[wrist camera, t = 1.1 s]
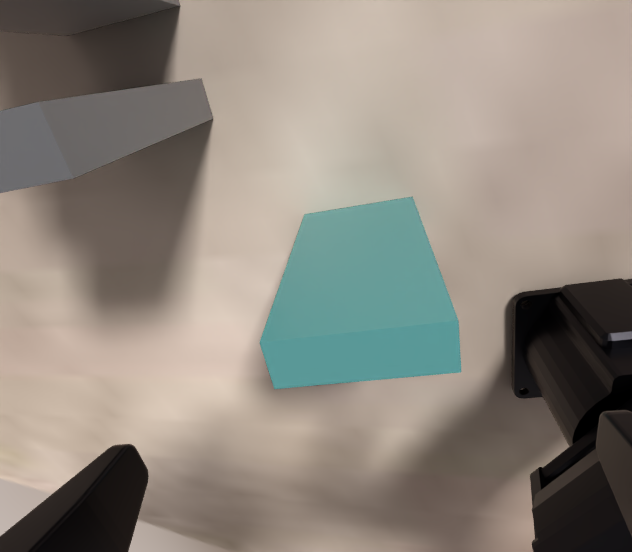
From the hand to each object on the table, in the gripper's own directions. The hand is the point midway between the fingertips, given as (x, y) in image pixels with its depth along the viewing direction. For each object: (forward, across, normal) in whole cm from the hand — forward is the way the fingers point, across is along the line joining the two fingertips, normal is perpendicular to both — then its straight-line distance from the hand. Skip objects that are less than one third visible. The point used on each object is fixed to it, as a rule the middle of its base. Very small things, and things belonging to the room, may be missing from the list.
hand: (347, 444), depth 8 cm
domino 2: (+13, +8, -6) cm, 16 cm away
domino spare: (+13, 0, 0) cm, 13 cm away
